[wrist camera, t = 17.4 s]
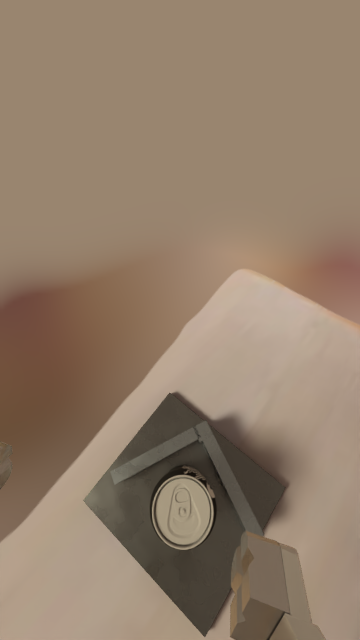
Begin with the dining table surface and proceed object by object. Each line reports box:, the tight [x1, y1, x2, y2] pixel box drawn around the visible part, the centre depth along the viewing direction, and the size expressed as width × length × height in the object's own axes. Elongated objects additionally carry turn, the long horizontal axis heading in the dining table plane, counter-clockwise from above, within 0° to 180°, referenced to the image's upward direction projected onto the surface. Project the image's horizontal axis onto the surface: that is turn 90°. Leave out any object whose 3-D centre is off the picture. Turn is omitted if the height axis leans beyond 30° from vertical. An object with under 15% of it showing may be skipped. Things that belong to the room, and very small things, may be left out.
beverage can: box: [150, 465, 217, 550], centre depth 30 cm, size 7×7×12 cm
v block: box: [83, 393, 285, 637], centre depth 34 cm, size 18×20×5 cm
